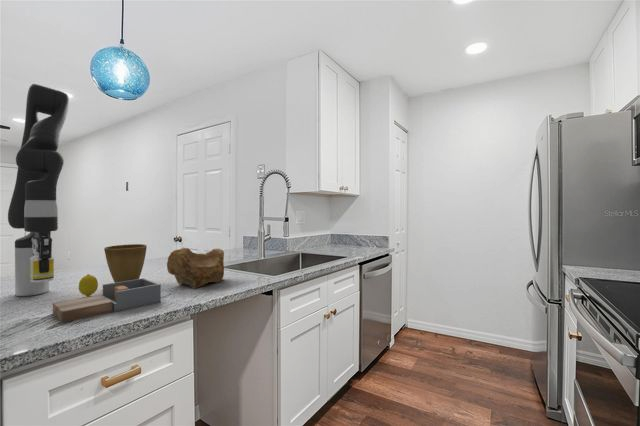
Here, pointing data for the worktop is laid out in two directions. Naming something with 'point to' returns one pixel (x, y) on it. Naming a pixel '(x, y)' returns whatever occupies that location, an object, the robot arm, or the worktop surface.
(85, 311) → the brown wavy slab
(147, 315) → the worktop surface
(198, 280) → the rough brown rock
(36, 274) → the supplement bottle
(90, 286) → the lemon
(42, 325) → the worktop surface
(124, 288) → the block
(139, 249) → the plant pot
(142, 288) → the box
